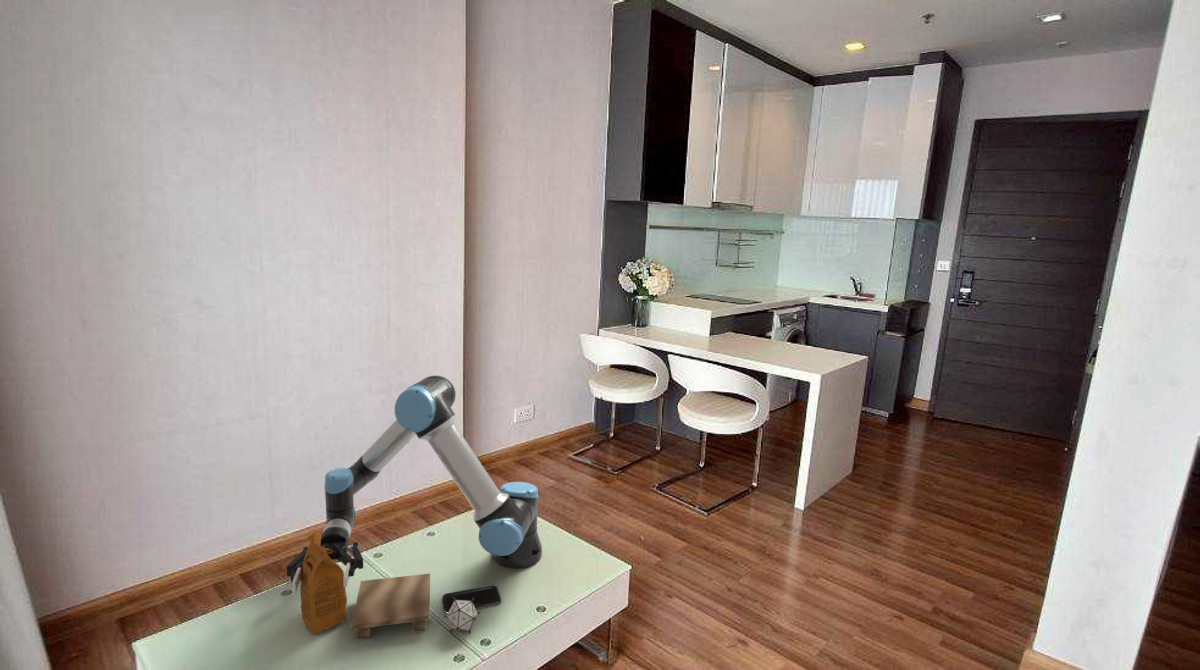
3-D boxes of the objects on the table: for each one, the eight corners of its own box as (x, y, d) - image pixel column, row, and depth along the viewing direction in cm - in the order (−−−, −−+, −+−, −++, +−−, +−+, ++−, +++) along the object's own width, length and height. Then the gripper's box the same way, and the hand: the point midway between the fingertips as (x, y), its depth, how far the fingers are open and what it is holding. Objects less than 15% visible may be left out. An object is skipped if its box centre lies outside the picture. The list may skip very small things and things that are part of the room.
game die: (463, 647, 147) (456, 635, 140) (440, 624, 150) (433, 611, 143) (489, 617, 152) (484, 605, 144) (466, 596, 155) (460, 583, 148)
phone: (442, 594, 160) (496, 584, 165) (442, 597, 160) (496, 588, 166) (444, 612, 153) (501, 601, 158) (444, 616, 153) (501, 605, 158)
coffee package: (338, 597, 157) (334, 523, 153) (351, 624, 148) (346, 545, 143) (298, 611, 151) (292, 534, 147) (308, 639, 142) (302, 558, 137)
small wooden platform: (430, 589, 163) (430, 573, 162) (429, 633, 146) (429, 615, 145) (361, 597, 158) (360, 580, 157) (351, 643, 141) (351, 625, 140)
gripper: (379, 546, 168) (370, 592, 147) (289, 554, 162) (267, 604, 141) (378, 522, 167) (369, 566, 146) (288, 530, 161) (265, 576, 140)
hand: (319, 585), depth 143 cm, fingers closed on coffee package, 11 cm apart
